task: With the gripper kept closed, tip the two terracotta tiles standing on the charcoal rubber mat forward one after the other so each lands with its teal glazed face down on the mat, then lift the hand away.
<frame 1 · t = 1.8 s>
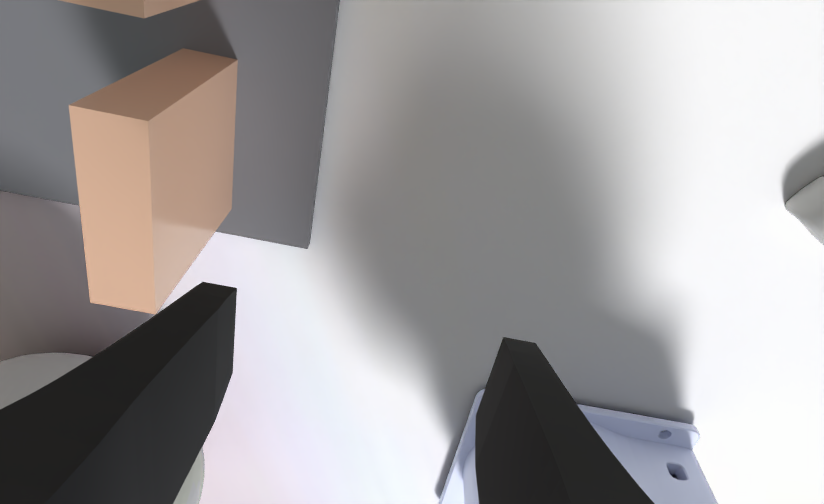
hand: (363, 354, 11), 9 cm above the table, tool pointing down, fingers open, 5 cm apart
tile a: (209, 134, 18), resting on mat
teacup: (120, 432, 26), on the table
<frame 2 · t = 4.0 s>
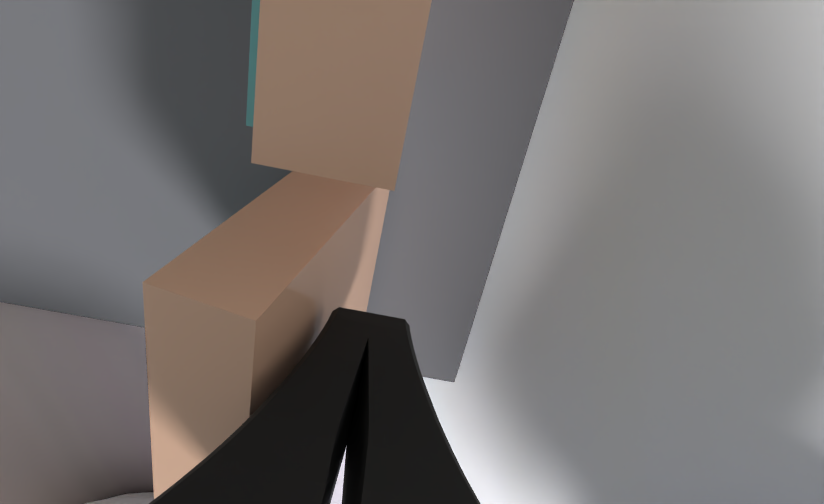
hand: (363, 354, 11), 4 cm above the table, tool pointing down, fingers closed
mat: (208, 71, 12), on the table
tile a: (343, 254, 14), point 1 cm above the table, tilted 13°, touching gripper, mat
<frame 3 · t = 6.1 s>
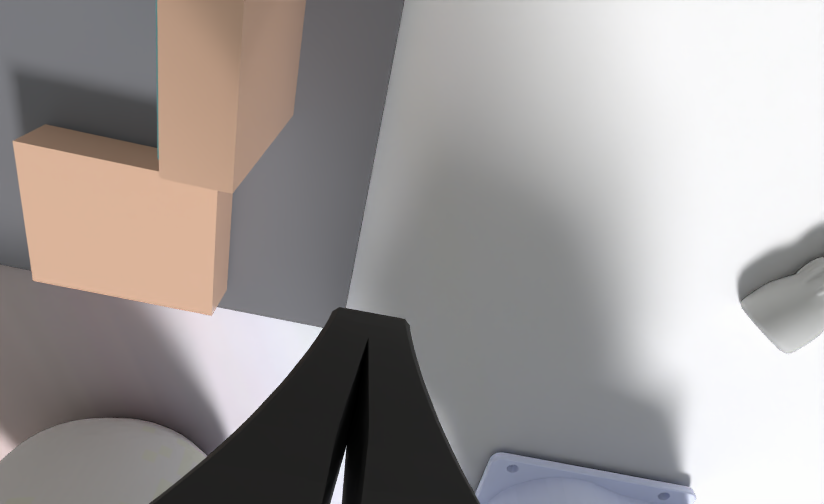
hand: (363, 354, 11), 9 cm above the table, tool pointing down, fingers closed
mat: (159, 112, 18), on the table
tile b: (275, 25, 16), resting on mat
tile a: (222, 242, 19), point 1 cm above the table, tilted 90°, touching mat
teacup: (155, 483, 28), on the table
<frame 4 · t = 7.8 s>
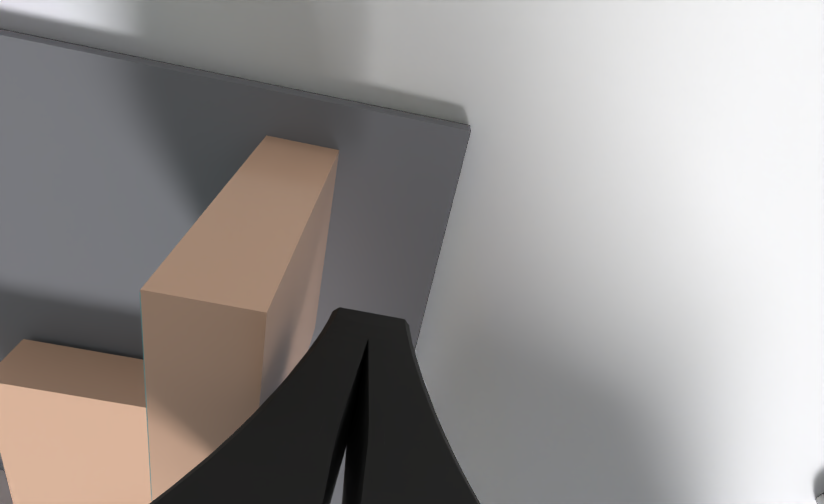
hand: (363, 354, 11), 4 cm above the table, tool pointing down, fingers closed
mat: (157, 319, 16), on the table
tile b: (292, 240, 14), resting on mat, touching gripper
tile a: (233, 461, 16), point 1 cm above the table, tilted 90°, touching mat
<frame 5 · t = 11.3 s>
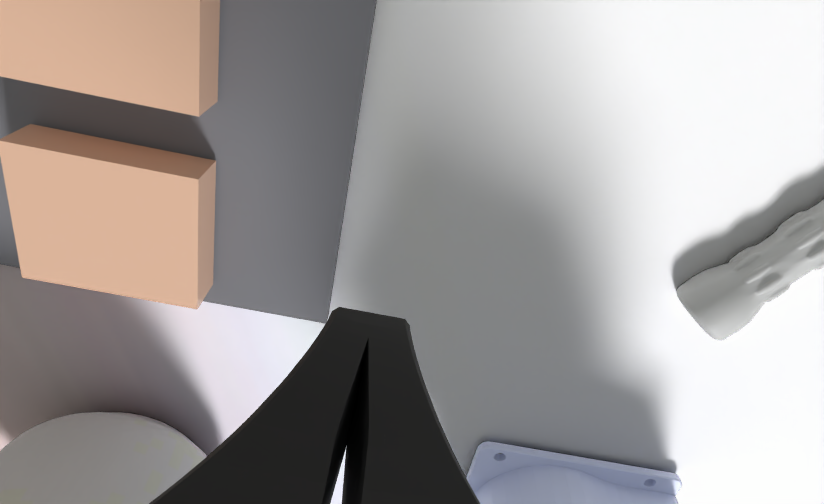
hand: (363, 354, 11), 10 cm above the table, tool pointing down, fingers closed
mat: (142, 110, 19), on the table
tile b: (210, 21, 16), point 1 cm above the table, tilted 90°, touching mat
tile a: (206, 237, 19), point 1 cm above the table, tilted 90°, touching mat
teacup: (150, 476, 28), on the table
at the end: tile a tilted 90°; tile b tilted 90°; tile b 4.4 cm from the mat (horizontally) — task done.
